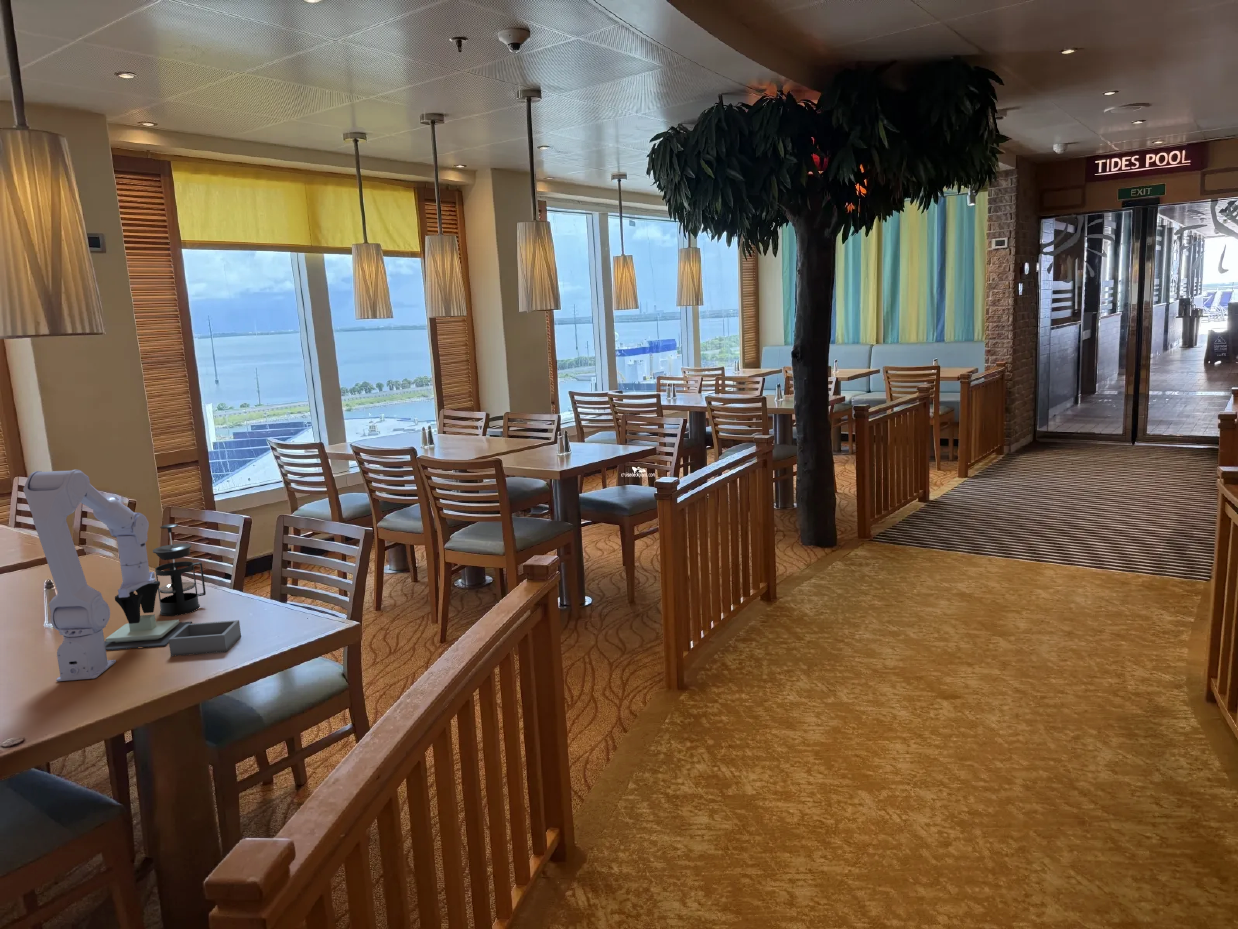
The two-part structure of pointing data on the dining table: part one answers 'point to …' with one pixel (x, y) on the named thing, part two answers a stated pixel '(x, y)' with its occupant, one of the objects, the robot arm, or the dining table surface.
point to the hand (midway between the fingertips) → (141, 617)
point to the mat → (145, 643)
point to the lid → (142, 630)
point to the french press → (177, 579)
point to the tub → (205, 638)
